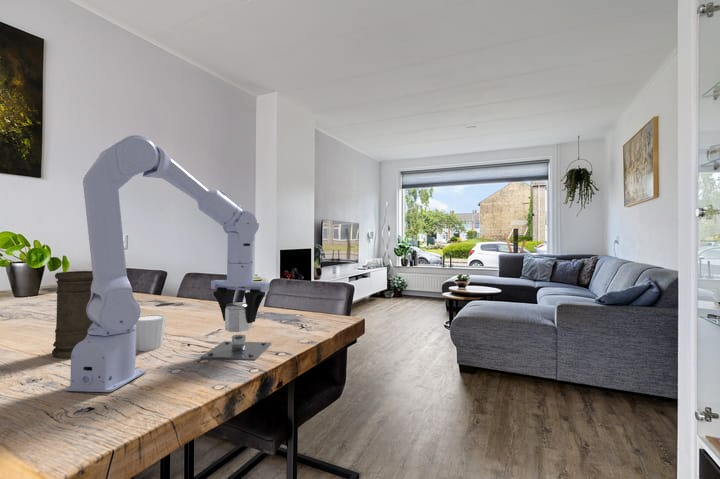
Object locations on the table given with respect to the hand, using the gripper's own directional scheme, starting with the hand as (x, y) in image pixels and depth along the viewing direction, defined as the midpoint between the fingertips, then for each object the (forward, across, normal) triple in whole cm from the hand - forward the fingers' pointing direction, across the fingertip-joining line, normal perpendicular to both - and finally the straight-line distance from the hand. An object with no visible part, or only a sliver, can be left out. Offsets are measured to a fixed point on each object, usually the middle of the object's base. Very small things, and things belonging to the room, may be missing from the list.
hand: (239, 321), depth 83 cm
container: (+7, +33, +13) cm, 36 cm away
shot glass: (+7, +22, +5) cm, 23 cm away
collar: (+2, 0, 0) cm, 2 cm away
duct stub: (+7, 0, 0) cm, 7 cm away
